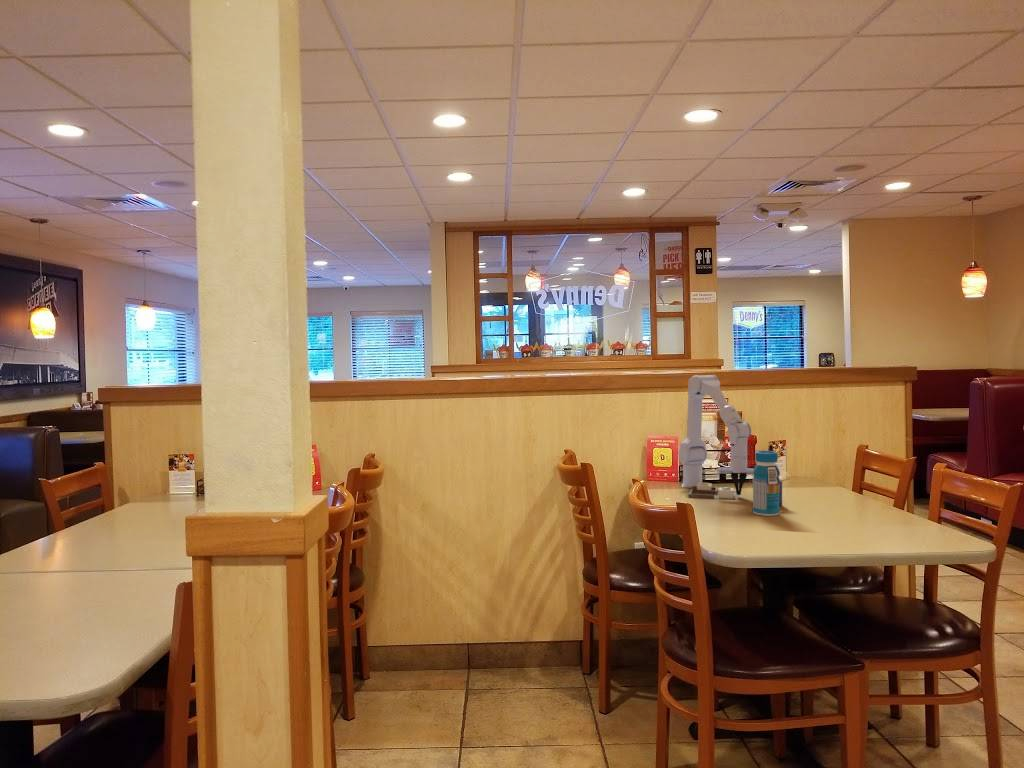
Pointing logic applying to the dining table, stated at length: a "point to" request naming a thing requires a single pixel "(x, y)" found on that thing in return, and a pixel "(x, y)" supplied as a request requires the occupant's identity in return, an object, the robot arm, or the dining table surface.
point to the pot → (726, 492)
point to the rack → (708, 494)
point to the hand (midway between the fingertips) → (738, 494)
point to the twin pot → (704, 486)
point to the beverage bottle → (766, 484)
